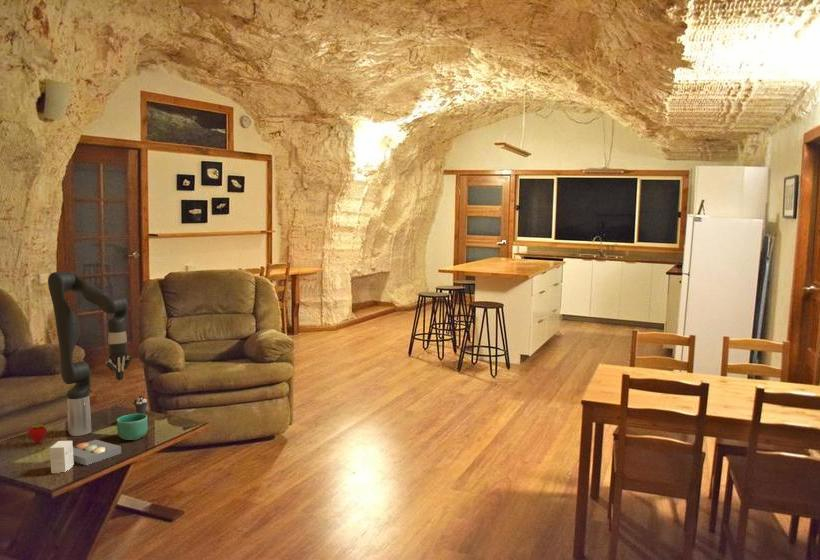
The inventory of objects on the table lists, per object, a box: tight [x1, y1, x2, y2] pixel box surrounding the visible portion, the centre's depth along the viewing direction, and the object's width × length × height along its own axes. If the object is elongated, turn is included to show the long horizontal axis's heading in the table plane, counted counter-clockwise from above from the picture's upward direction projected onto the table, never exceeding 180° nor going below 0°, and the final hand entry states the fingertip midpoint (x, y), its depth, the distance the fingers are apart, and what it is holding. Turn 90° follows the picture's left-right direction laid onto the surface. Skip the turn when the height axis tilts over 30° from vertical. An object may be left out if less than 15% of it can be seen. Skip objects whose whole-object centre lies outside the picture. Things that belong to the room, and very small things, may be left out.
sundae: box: [132, 391, 149, 415], centre depth 318 cm, size 7×7×15 cm
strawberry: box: [27, 423, 48, 445], centre depth 289 cm, size 6×8×10 cm
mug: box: [116, 413, 149, 441], centre depth 297 cm, size 17×13×10 cm
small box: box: [49, 440, 75, 474], centre depth 259 cm, size 8×6×10 cm
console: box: [73, 439, 122, 466], centre depth 274 cm, size 17×16×3 cm
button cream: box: [93, 447, 105, 454], centre depth 272 cm, size 5×5×4 cm
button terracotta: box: [76, 442, 89, 449], centre depth 277 cm, size 5×5×4 cm
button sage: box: [85, 445, 97, 452], centre depth 274 cm, size 5×5×4 cm
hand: (119, 379), depth 293 cm, fingers closed
